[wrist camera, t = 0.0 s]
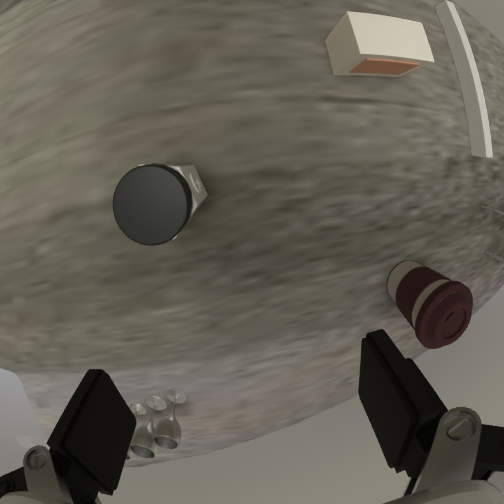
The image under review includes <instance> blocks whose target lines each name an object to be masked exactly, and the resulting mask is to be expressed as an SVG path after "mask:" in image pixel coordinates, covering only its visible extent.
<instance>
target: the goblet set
mask: <svg viewBox="0 0 504 504" xmlns="http://www.w3.org/2000/svg"><path fill="white" fill-rule="evenodd" d="M166 397H167V398H168V399H169V400H170V401H172V402H174V404H173V408H172V410H171V413H170V414H169V415H168V416H167V417H166V418H164V419H162V420H161V421H160V422H159V423H158V424H157V426H156V428H154V426H153V417H154V413H155V410H164V409H166V408H167V404H166V402H165V401H164V400H163V399H161V398H159V397H156V396H149V397H147V398H146V400H145V401H146V404H147V405H148V406H149V407H151V408H152V409H153V412H152V415H151V418H150V420H149V421H148V423H146V424H145V425H143V426H141V427H139V428H138V429H136V431H135V432H134V434H133V437H132V440H131V443H130V446H129V449H128V453H127V456H126V459H127V460H128V459H130V458H131V456H132V455H133V453H135V454H136V455H138V456H141V457H144V458H153V457H155V455H156V453H157V450H158V447H159V446H161V447H164V448H168V449H174V448H177V447H178V445H179V442H180V440H181V428H180V425H179V423H178V422H177V420H176V418H175V405H176V403H184V402H186V401H187V395H186V394H185V393H184V392H183V391H181V390H178V389H169V390H167V392H166ZM130 409H131V410H132V411H133V412H134V413H136V414H135V418H136V416H137V414H139V415H144V414H146V412H147V411H146V409H145V408H144V407H143V406H142V405H139V404H136V403H133V404H131V405H130Z"/></svg>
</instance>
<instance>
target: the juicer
mask: <svg viewBox="0 0 504 504" xmlns="http://www.w3.org/2000/svg"><path fill="white" fill-rule="evenodd" d="M481 207H482V208H485V209H488V210H491V211H493V212H496V213H498V214H501V215H503V216H504V212H502V211H499V210H496V209H492V208H489V207H486V206H482V205H481ZM485 253H486V254H488V255H490V256H491V257H493V258H495V259H497V260H499V261H501V262H503V263H504V258H501V257H499V256H497V255H495V254H492V253H490V252H488V251H485Z"/></svg>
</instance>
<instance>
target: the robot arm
mask: <svg viewBox="0 0 504 504" xmlns="http://www.w3.org/2000/svg"><path fill="white" fill-rule="evenodd" d="M358 392H359V397H360V400H361V402H362V404H363V407H364V409H365V411H366V413H367V416H368V418H369V421H370V423H371V425H372V428H373V430H374V432H375V435H376V437H377V439H378V442H379V444H380V447H381V449H382V451H383V454H384V456H385V459H386V461H387V464H388V466H389V467H390V468H393V467H394V468H395V470H396V473H399V472H401V471H404V470H406V473H407V475H408V477H410V479H409V481H408V484H407V486H406V488H405V490H404V492H403V495H402V497H401V498H398V499H396V500H393V501H389V502H386V503H384V504H504V495H503V494H502V493H504V427H499V426H492V425H485V424H481V419H480V417H479V415H478V414H477V413H476V412H475V411H474V410H472V409H470V408H466V407H456V408H453V409H450V410H449V411H448V410H447V408H446V407H445V405H444V404H443V402H442V401H441V400H440V398H439V396H438V395H437V393H436V392H435V391H434V389H433V388H432V386H431V385H430V384H429V382H428V381H427V379H426V378H425V377H424V375H423V374H422V373H421V371H420V370H419V368H418V367H417V365H416V364H415V363H414V361H413V360H412V359H410V358H406V359H405V358H404V357H403V355H402V354H401V352H400V351H399V350H398V348H397V347H396V346H395V344H394V343H393V341H392V340H391V339H390V337H389V336H388V335H387V333H386V332H385V331H384V330H383V329H380V330H376V331H373V332H369V333H367V335H366V338H363V339H362V344H361V363H360V377H359V389H358ZM135 428H136V418H135V416H134V415H133V413H132V412H131V410H130V409H129V407H128V406H127V404H126V402H125V401H124V399H123V398H122V396H121V395H120V393H119V391H118V390H117V388H116V386H115V385H114V383H113V381H112V380H111V378H110V376H109V375H108V374H107V373H105V371H104V370H102V369H90V370H88V371H87V373H86V374H85V376H84V378H83V379H82V381H81V383H80V384H79V386H78V388H77V389H76V391H75V393H74V394H73V396H72V398H71V399H70V401H69V403H68V405H67V406H66V408H65V410H64V412H63V414H62V415H61V417H60V419H59V421H58V423H57V424H56V426H55V428H54V430H53V432H52V434H51V436H50V438H49V439H48V441H47V445H48V446H49V447H50V450H48V449H47V448H46V447H44V446H40V445H38V446H34V447H32V448H30V449H29V450H28V451H27V452H26V454H25V456H24V459H23V467H21V468H19V469H17V470H15V471H12V472H10V473H8V474H5V475H3V476H1V477H0V504H101V502H100V500H99V498H98V496H97V495H98V491H99V492H100V493H102V494H107V495H111V496H112V495H113V491H114V490H116V489H117V486H118V483H119V480H120V476H121V472H122V469H123V466H124V463H125V459H126V456H127V453H128V449H129V446H130V443H131V440H132V437H133V434H134V431H135Z"/></svg>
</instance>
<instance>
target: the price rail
mask: <svg viewBox="0 0 504 504" xmlns="http://www.w3.org/2000/svg"><path fill="white" fill-rule="evenodd" d="M435 10H436V12H437V14H438V17H439V19H440V22H441V24H442V27H443V30H444V32H445V35H446V38H447V41H448V44H449V47H450V50H451V53H452V56H453V60H454V63H455V67H456V70H457V74H458V78H459V82H460V86H461V90H462V95H463V100H464V105H465V110H466V116H467V122H468V128H469V135H470V143H471V153H472V156H479V157H493V155H492V145H491V136H490V129H489V122H488V116H487V110H486V105H485V100H484V95H483V90H482V86H481V82H480V78H479V74H478V70H477V67H476V63H475V60H474V57H473V53H472V50H471V47H470V44H469V41H468V39H467V36H466V33H465V30H464V28H463V25H462V23H461V20H460V18H459V16H458V13H457V11H456V9H455V6H454V4H453V3H451V2H449V1H446V0H445V1H444V2H442V3H440V4H439V5H437V6H436V7H435Z"/></svg>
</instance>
